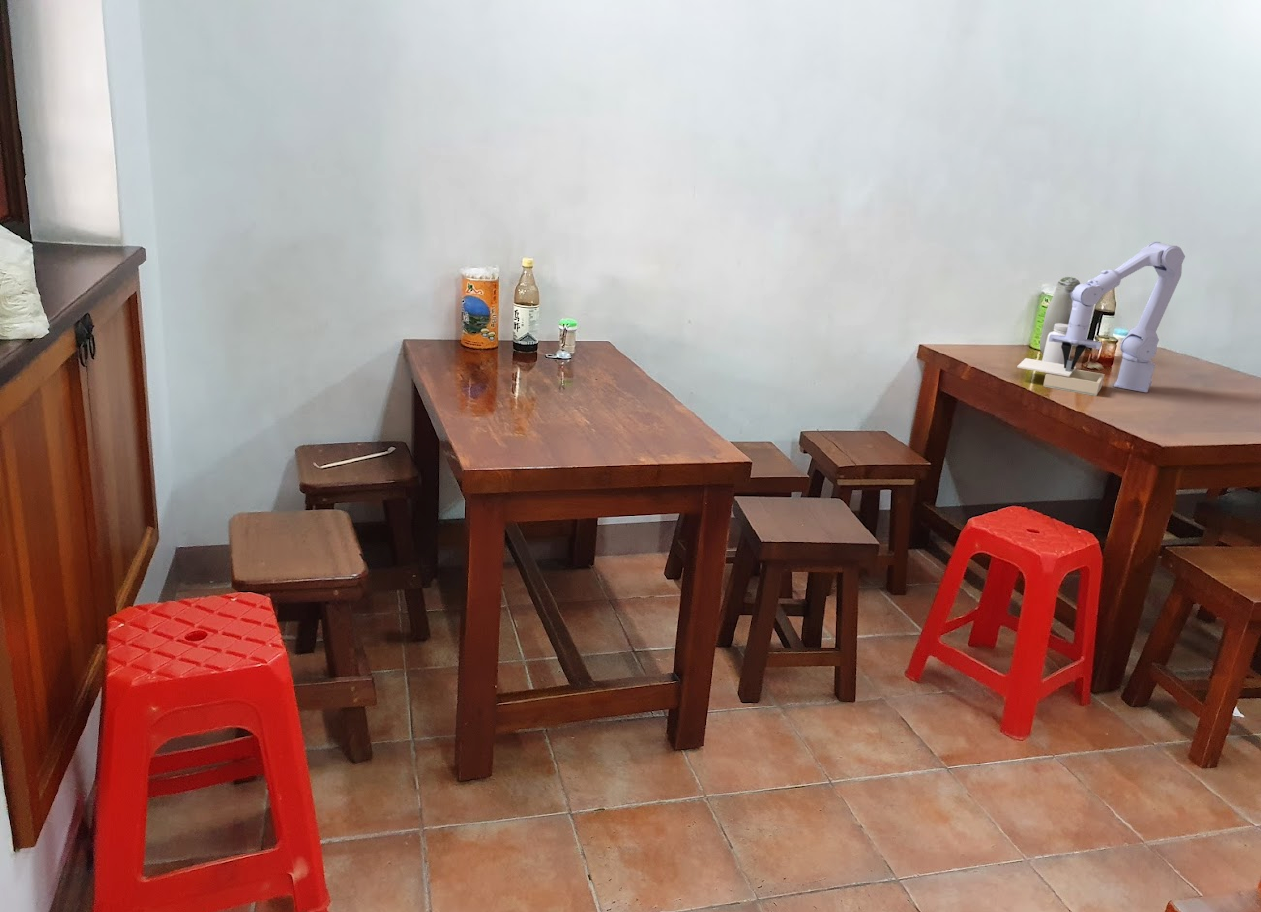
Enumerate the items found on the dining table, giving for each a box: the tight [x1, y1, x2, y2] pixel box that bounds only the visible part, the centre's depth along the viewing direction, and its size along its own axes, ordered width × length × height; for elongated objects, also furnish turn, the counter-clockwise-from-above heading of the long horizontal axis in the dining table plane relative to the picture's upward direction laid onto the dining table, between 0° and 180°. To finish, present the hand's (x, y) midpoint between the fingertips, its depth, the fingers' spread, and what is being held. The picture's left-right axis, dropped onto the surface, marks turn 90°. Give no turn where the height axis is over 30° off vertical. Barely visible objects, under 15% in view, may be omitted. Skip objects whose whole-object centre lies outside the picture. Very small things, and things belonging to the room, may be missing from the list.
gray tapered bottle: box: [1039, 276, 1081, 355], centre depth 324 cm, size 10×10×28 cm
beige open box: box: [1042, 368, 1106, 397], centre depth 293 cm, size 15×14×4 cm
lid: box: [1016, 357, 1077, 377], centre depth 295 cm, size 15×14×4 cm
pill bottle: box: [1041, 323, 1074, 364], centre depth 310 cm, size 8×8×15 cm
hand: (1068, 368), depth 293 cm, fingers closed on lid
